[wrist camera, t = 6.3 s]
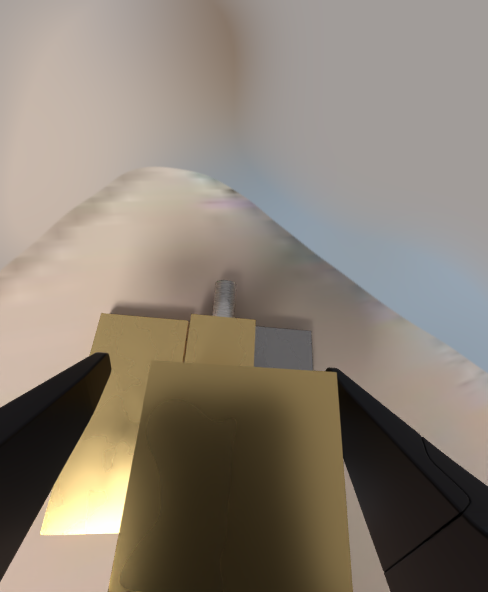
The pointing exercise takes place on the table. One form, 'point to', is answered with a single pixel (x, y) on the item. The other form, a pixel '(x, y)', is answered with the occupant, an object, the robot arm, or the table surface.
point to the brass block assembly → (208, 464)
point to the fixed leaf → (268, 336)
